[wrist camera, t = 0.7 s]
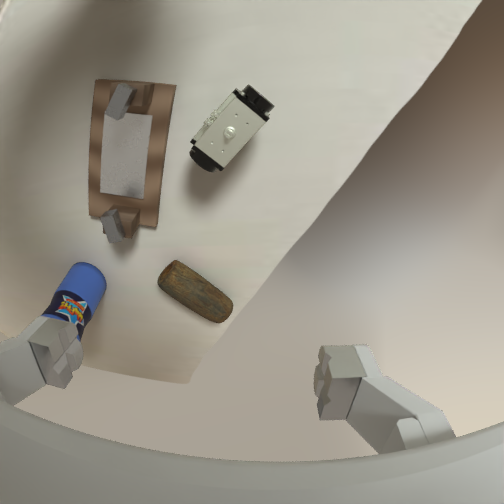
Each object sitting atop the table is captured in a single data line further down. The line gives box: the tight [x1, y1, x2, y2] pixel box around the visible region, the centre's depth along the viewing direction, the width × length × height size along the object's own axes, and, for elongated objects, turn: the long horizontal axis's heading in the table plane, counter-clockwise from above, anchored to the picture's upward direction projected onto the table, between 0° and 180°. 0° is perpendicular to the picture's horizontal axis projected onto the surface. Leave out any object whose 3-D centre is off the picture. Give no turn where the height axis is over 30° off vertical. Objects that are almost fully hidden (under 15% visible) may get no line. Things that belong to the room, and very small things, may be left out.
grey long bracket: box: [100, 83, 153, 243], centre depth 42 cm, size 24×8×7 cm, turn 167°
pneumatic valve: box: [190, 85, 274, 172], centre depth 39 cm, size 6×12×12 cm, turn 139°
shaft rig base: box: [89, 79, 176, 238], centre depth 43 cm, size 24×13×6 cm, turn 167°
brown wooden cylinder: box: [158, 260, 233, 323], centre depth 58 cm, size 15×7×7 cm, turn 48°
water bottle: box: [41, 262, 106, 342], centre depth 50 cm, size 9×9×25 cm
